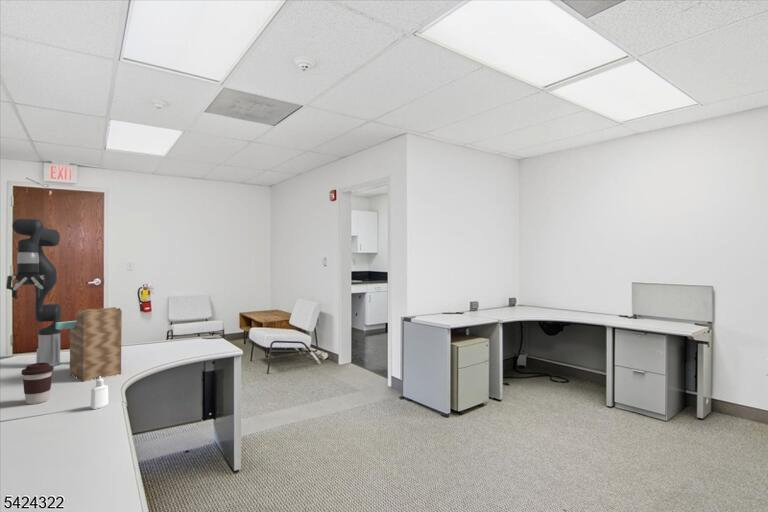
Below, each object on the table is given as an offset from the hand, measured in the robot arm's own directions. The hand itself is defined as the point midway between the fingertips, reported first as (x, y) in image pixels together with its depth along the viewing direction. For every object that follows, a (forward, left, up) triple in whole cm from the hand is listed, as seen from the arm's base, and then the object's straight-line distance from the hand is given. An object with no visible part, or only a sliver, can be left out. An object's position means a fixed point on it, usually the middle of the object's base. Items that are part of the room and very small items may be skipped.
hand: (27, 298), depth 186 cm
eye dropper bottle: (+53, -24, -40) cm, 71 cm away
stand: (+16, +21, -40) cm, 48 cm away
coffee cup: (+23, -19, -40) cm, 50 cm away
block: (+11, +22, -16) cm, 30 cm away
